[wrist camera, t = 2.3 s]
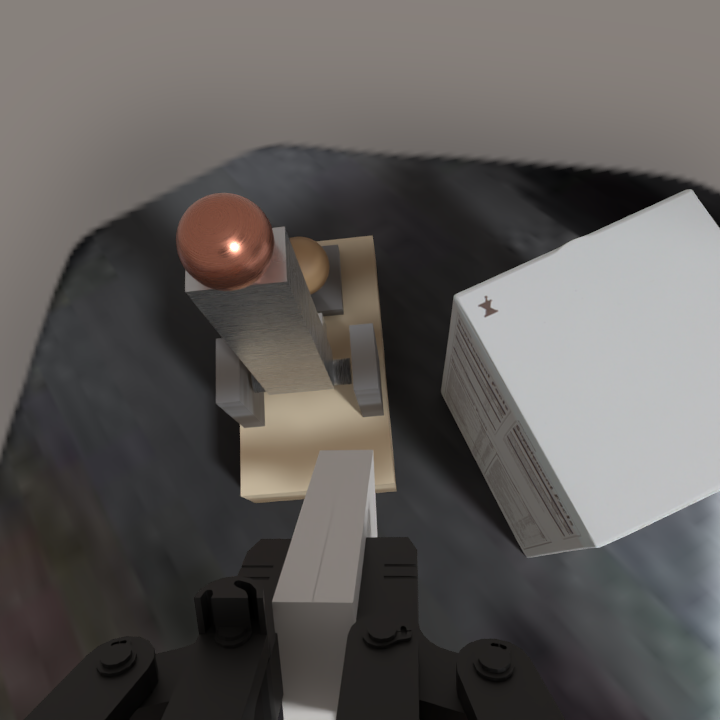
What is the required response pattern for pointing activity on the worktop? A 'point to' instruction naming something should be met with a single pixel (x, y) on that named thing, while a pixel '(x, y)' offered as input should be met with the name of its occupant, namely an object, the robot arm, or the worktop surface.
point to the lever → (256, 295)
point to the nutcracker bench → (323, 407)
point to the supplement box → (595, 379)
